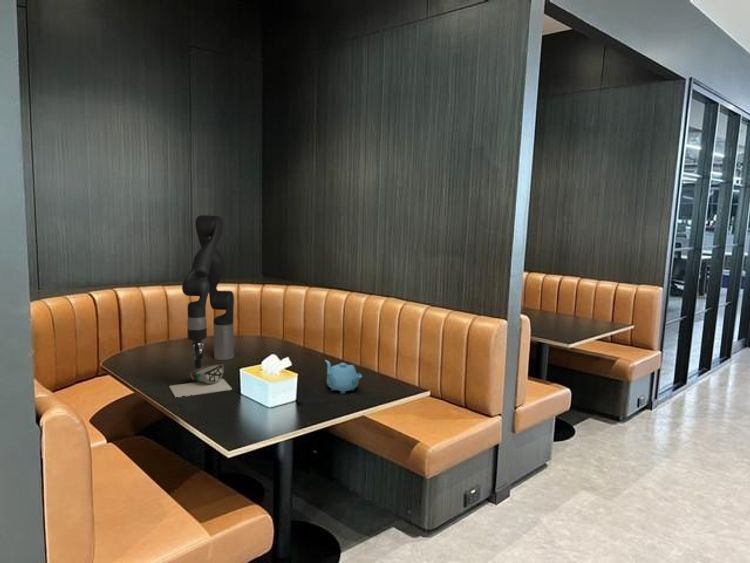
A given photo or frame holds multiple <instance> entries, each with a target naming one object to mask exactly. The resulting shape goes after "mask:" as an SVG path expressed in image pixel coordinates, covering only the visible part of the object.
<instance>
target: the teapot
mask: <svg viewBox="0 0 750 563" xmlns="http://www.w3.org/2000/svg"><path fill="white" fill-rule="evenodd" d="M324 362H325V363H326V366H327V368H326V372H327V374H326V375H327V376H326V384H327V386H328V387H329V388H330V391H333V392H335V391H340V392H339V393H340V394H341V395H346V392H348V391H355V389H356V388H357V387H358V385H359V380H360V379H361V378H362V377H363V375H362V374H361V373H360V372H359V373H357V371H356V367H355V365H354V364H347V363H345V362H339V363H338V364H335V365H332V364H331V362H330V361H329V360H327V359H324Z"/></svg>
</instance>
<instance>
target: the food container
mask: <svg viewBox="0 0 750 563" xmlns="http://www.w3.org/2000/svg"><path fill="white" fill-rule="evenodd" d="M224 371H225V367H224V364H221V363H220V364H213V365H205V366H204V365H203V367H202V366H201V368H199V369H196V370H193V371H191V372H189V373H188V377H189V378H190V379H191V380H192V381H193V382H194V383H195V382H205V383H207V384H213V383H216V382H218V381H219V380H220V379H222V377H223V375H224Z"/></svg>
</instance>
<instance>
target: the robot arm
mask: <svg viewBox="0 0 750 563" xmlns="http://www.w3.org/2000/svg"><path fill="white" fill-rule="evenodd" d="M195 231H196V234H197V238H198V241H199V245H200V249H199V250H198V251H197V253H195V256H193V257H194V259H193V262H192V266H191V269H190V270H189V272H188V274H187V275H186V277H185V278H184V280H183V282H182V286H181V289H182V290H181V291H182V293H183V294H184V295H185V296H187V297H199V298H198V300H196V301H190V302H189V303H188V304H187V321H186V323H187V324H186V325H187V326H186V327H187V339H188V340H190V341H192V342H191V344H190V346H191V351H192V356H193V359H194V368H195V369H196V370H198V369H200V368H202V360H203V358H204V352H205V349H204V343H203V340H206V339H207V337H208V331H207V330H208V327H207V326H208V325H207V316H206V314H207V313H206V312H207V310H206V306H207V300H208V297H209V304H210V307H211V309H212V310H215V311H218V310H219V311H225V312H224V313H223V314H221V315H218V316H216V317H214V318H213V347H214V348H213V353H214V354H213V356H214V359H215V360H217V361H228V360H232V359H234V358H235V354H234V352H235V350H234V348H235V347H234V343H235V342H234V337H235V336H234V304H235V303H234V302H235V297H234V296H235V295H234V292H233V291H231V290H218V289H217V287H218V285H219V283H220V282H221V280H222V278H223V277H224V275H225V274H226V262H225V258H224V255H223V254H222V252H221V251H220V250H219V249H218V245H219V243H220V240H221V238H222V235H223V232H224V221H223V218H222V217H221V216H220V215H208V214H205V215H203V214H202V215H201V214H200V215H198V216H197V217H196V219H195ZM205 278H206V279H205Z"/></svg>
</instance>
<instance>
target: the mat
mask: <svg viewBox="0 0 750 563" xmlns="http://www.w3.org/2000/svg"><path fill="white" fill-rule="evenodd" d="M168 387H169V389H170V391H171V393H172V394H173V396H174V398H176V397H178V398H183V397H182V396H185V397H190V396H191V395H192V396H196V395H204V394H212V393H218V392H224V391H231V390H233V388H232V387H231V385H229V383H228V382H227V381H226V380H225V379H224V378H221V379H220V380H219V381H218V382H216V383H213V384H207V383H205V382H195V381H194V382H189V383H187V382H186V383H182V384H173V385H169V386H168Z"/></svg>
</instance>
